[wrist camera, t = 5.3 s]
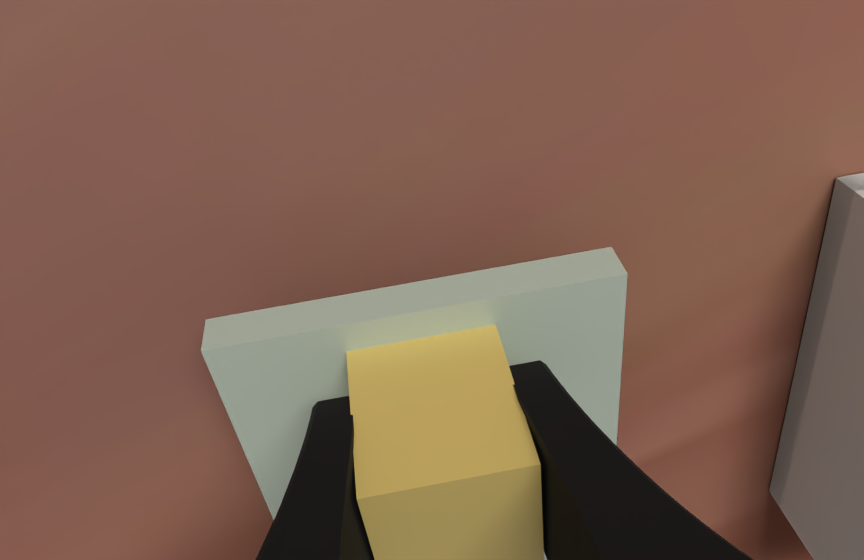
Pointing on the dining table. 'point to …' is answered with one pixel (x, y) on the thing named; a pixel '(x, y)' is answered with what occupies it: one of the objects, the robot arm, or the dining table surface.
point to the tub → (829, 395)
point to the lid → (429, 395)
